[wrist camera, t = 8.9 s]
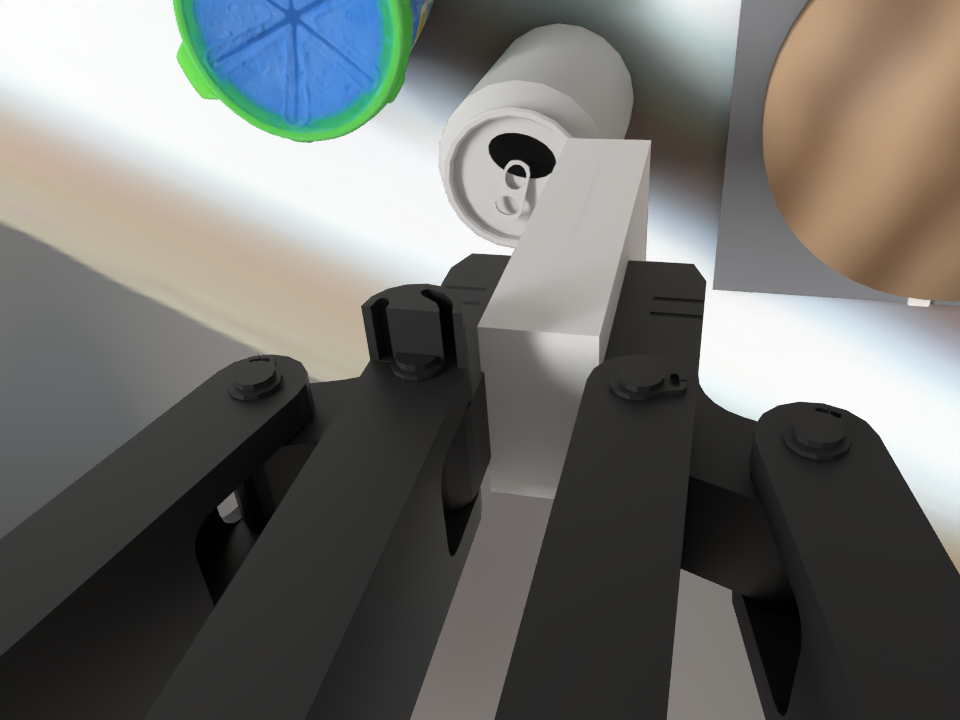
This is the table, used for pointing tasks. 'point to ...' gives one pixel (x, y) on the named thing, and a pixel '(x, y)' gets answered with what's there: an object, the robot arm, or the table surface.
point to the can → (529, 125)
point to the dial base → (746, 192)
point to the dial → (871, 141)
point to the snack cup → (299, 59)
